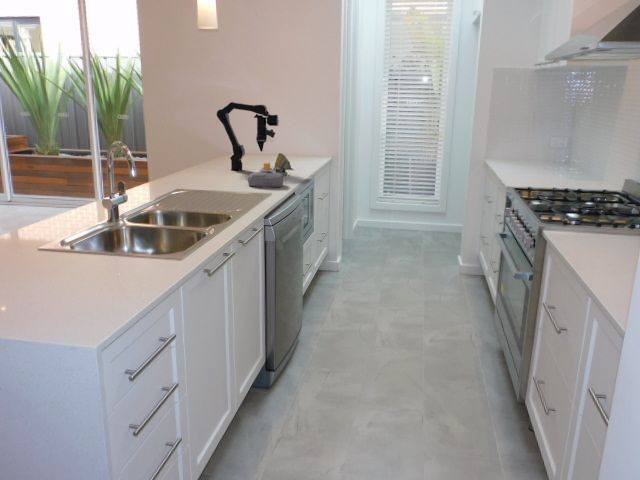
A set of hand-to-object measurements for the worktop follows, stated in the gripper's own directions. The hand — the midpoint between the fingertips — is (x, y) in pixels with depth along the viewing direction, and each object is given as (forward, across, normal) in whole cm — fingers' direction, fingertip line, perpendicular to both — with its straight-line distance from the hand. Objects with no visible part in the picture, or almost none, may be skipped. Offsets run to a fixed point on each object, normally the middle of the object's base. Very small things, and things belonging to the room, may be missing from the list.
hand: (261, 150), depth 352 cm
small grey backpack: (+14, -51, -3) cm, 53 cm away
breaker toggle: (+10, -14, -12) cm, 21 cm away
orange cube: (+11, -14, -4) cm, 18 cm away
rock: (+13, +13, -14) cm, 23 cm away
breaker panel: (+13, -9, -8) cm, 18 cm away
